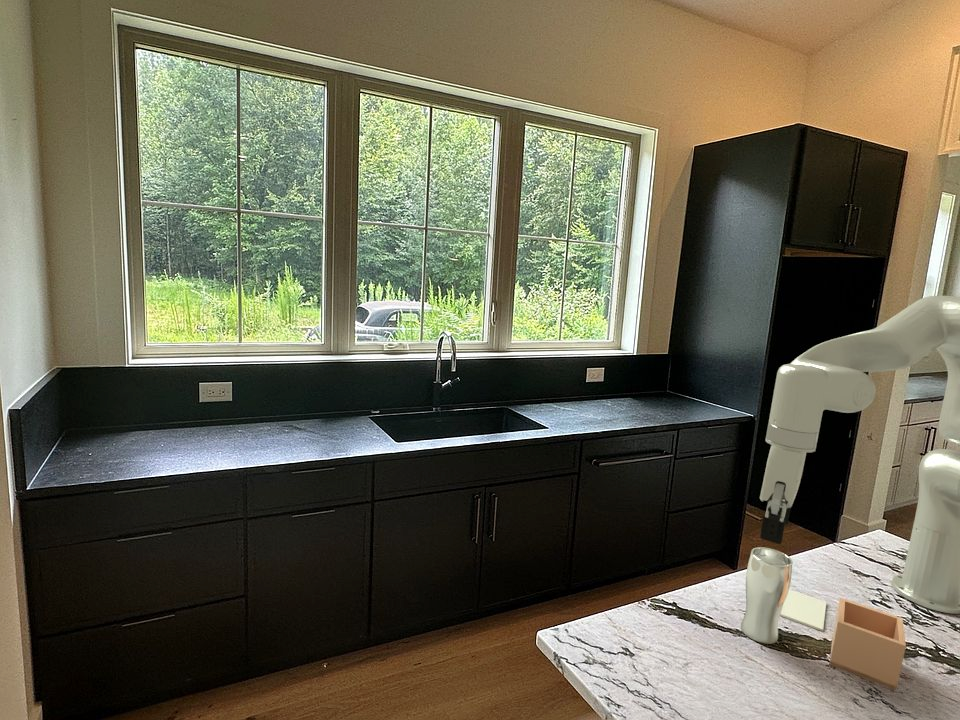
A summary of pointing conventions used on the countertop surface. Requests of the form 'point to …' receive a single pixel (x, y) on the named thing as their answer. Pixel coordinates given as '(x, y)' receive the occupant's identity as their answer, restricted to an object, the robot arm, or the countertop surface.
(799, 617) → the plain cream tile
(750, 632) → the beer glass
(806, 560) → the countertop surface
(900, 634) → the open box
